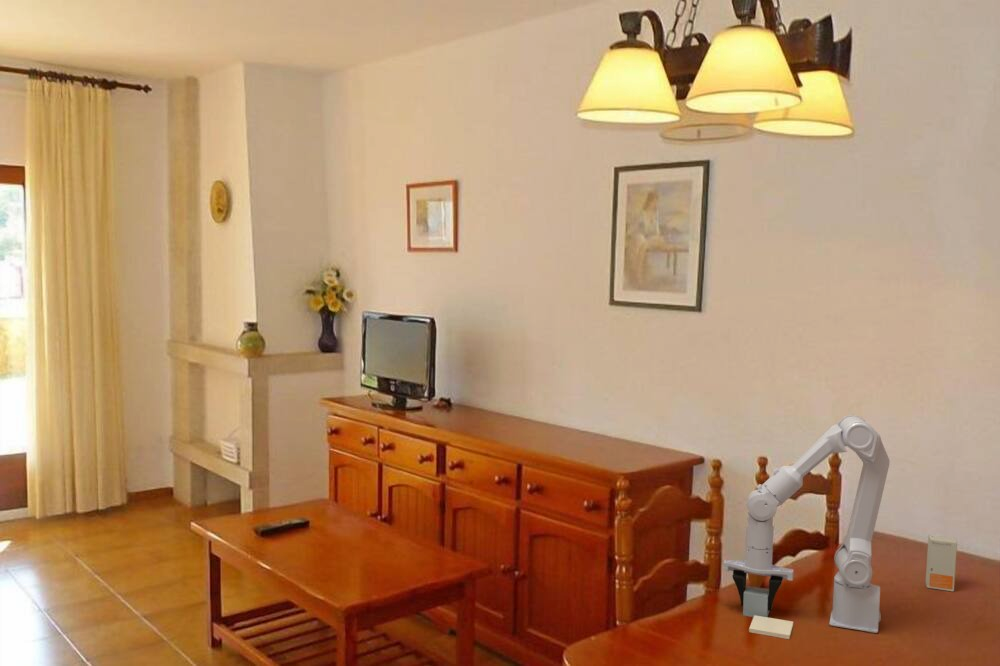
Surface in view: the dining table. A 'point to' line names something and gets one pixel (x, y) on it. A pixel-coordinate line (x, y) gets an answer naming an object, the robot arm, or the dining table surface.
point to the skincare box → (941, 563)
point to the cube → (755, 602)
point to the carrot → (755, 579)
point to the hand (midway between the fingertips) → (756, 607)
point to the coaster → (771, 627)
